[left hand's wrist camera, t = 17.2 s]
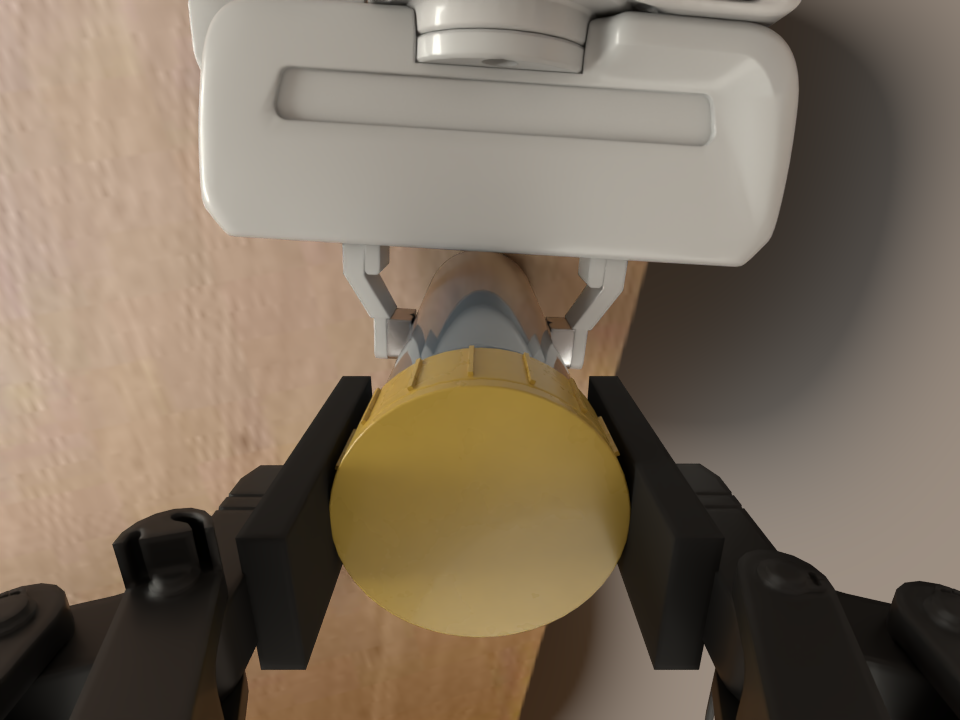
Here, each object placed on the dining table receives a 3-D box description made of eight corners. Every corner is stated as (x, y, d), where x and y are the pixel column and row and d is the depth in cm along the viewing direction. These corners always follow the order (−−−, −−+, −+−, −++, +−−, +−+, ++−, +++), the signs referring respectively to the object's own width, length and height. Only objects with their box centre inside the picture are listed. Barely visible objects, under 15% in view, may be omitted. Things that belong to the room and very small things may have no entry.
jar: (445, 233, 26) (386, 342, 10) (547, 269, 27) (656, 427, 10) (414, 333, 28) (321, 567, 11) (511, 364, 29) (554, 628, 12)
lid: (346, 553, 13) (321, 623, 11) (360, 328, 11) (332, 364, 9) (578, 579, 13) (596, 653, 11) (634, 364, 11) (667, 406, 9)
